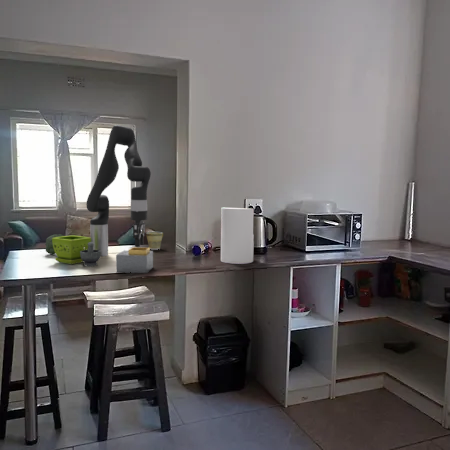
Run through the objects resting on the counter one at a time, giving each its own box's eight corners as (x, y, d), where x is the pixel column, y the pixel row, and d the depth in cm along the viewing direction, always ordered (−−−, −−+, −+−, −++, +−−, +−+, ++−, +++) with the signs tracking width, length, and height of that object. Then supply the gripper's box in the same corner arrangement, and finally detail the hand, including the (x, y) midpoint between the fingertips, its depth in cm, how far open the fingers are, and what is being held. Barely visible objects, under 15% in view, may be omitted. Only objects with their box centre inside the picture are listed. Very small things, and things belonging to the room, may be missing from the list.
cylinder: (247, 264, 226) (248, 209, 223) (215, 262, 232) (216, 208, 229) (257, 259, 242) (258, 207, 239) (227, 256, 248) (227, 206, 245)
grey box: (116, 272, 203) (116, 250, 202) (124, 266, 216) (124, 246, 215) (146, 273, 202) (146, 251, 201) (152, 267, 215) (152, 247, 214)
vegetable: (76, 251, 244) (50, 241, 236) (64, 265, 249) (38, 256, 241) (77, 236, 253) (52, 226, 245) (66, 250, 258) (41, 240, 250)
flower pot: (71, 265, 216) (70, 240, 215) (51, 262, 223) (50, 237, 222) (92, 261, 228) (92, 236, 227) (73, 258, 235) (72, 234, 234)
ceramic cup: (155, 250, 264) (155, 234, 263) (142, 249, 269) (142, 232, 268) (169, 248, 275) (169, 232, 274) (157, 246, 280) (157, 230, 279)
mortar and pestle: (80, 263, 222) (79, 239, 221) (99, 262, 225) (99, 239, 224) (80, 268, 211) (80, 243, 210) (101, 267, 214) (100, 242, 213)
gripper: (134, 208, 213) (135, 243, 215) (126, 210, 199) (127, 248, 201) (150, 208, 213) (150, 243, 215) (143, 211, 199) (143, 248, 201)
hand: (139, 245), depth 208 cm, fingers open, 6 cm apart
